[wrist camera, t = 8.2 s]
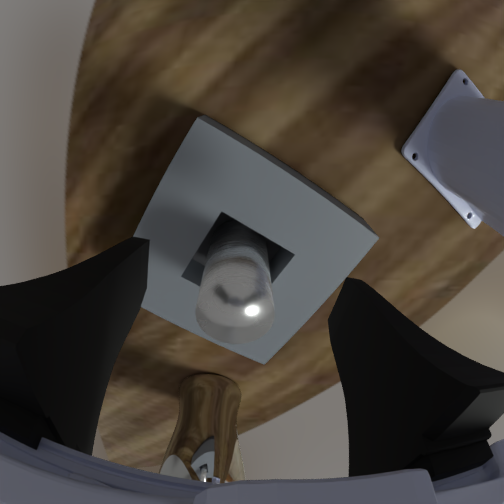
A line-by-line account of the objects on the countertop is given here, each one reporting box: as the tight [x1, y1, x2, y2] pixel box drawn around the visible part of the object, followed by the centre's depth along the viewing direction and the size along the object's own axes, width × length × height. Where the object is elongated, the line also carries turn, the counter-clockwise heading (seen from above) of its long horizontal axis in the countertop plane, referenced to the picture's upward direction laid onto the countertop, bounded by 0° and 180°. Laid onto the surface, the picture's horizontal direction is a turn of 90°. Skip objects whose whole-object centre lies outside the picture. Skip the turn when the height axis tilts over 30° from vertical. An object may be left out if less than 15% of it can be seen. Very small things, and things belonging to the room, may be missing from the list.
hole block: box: [133, 115, 379, 364], centre depth 19 cm, size 12×12×3 cm
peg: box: [195, 220, 275, 344], centre depth 17 cm, size 4×4×7 cm
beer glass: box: [159, 374, 246, 484], centre depth 21 cm, size 7×7×15 cm
